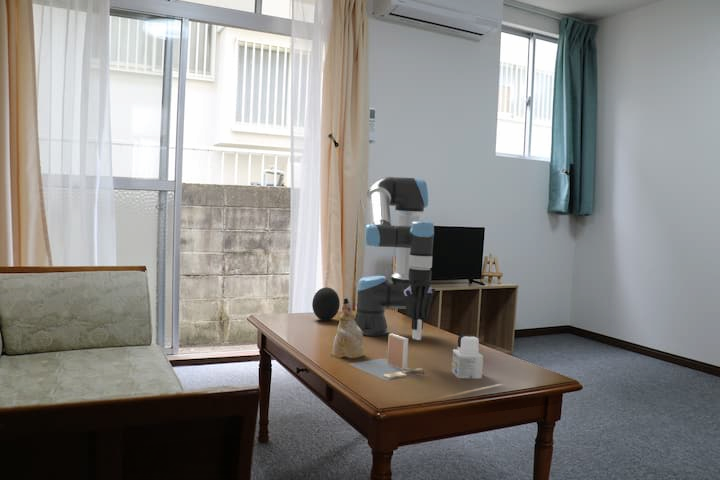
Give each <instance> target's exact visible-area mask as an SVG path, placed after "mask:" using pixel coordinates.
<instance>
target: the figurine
mask: <svg viewBox="0 0 720 480" xmlns="http://www.w3.org/2000/svg"><path fill="white" fill-rule="evenodd" d="M341 310H342V313H343V314H341V315H340V316H339V323H338V325H337V329H336V330H337V331H336V335H335V337H334V338H333V343H332V344H333V345H332V353H331V355H330V356H331V357H336V358H339V359H353V358H362V357H365V354H364V350H363V349H364V347H363V342H364V335H363V333H362V331H361V329H360V328H359V327H358V325H357V324H356V322H355V320H354V319H355V316H356V314H354V313H353V312H352V311H353V307H352V304H351V303H350V301H349V298H346V297H345V298H344V299H343V303H342V305H341Z"/></svg>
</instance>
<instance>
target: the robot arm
mask: <svg viewBox="0 0 720 480" xmlns="http://www.w3.org/2000/svg"><path fill="white" fill-rule="evenodd" d="M428 190H429V189H428V185H427V181H426V180H425V179H423V178H416V177H398V176H396V177H394V176H393V177H392V176H386V177H382V178H381V179H380V178H379V179H378V180H376V181H375V182H373V184H372V185H371V186H370V187H369V188H368V190H367V193H366V202H367V204H368V205H369V222H370V223H368V224H366V225H365V230H364V233H365V234H364V235H365V236H364V242H365V243H364V244H365V245H366V246H369V247H375V248H377V247H378V248H379V247H380V248H381V247H382V248H396V257H395V270H394V271H395V272H394V273H392V274H391V276H390V277H391V279H387V277H386V276H384V275H373V276H372V275H371V276H363V277H361V278H360V279H359V280H358V283H357V289H356V291H357V296H356V297H357V299H356V314H355V318H354V320H355V322H356V324H357V325H358V327H359V328H360V329H361V331H362V333H363V336H367V337H369V336H371V337H375V336H376V337H378V336H384V335H387V334H389V333H388V331H389V330H388V329H389V326H388V324H387V319H386V316H385V309H404V310H405V312H406V317H407V318H409V319H411V330H412V335H411V338H412V339H413V340H417V341H421V340H422V330H423V328H424V321H425V320H426V319H427V318H428V317H429V314H430V310H431V306H432V301H433V297H434V294H435V292H436V289H435V288H433V287H431V283H430V282H431V280H432V269H431V268H433V247H434V236H435V226H434V225H435V224H434V223H433V222H432V221H430V222H429V221H420V217H421V215H422V214H423V213H424V210H425V208H428V206H429V191H428ZM390 206H392V207H394V208H395V210H394V211H395V212H396V213H397V215H398V220H397V222H398V223H397V225H392V219H391V209H390Z"/></svg>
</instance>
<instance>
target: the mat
mask: <svg viewBox="0 0 720 480" xmlns="http://www.w3.org/2000/svg"><path fill="white" fill-rule="evenodd" d="M348 365H349V366H351V367H354V368H356V369H359V370H361V371H363V372H365V373H367V374H370V375H372V376H374V377H377V378H379V379H381V380H383V381H392V380H398V379H403V378H408V377H409V378H410V377H414V376H418V375H424V372H421V373H416V374H410V375H407V376H405V377H399V378H394V379H387V378H385V377H383V375H384V374H390V373H396V372H401V371H405V370H401V369H399V368H396V367H394V366H391V365H389V364H387V358H384V357H383V358H376V359H370V360H364V361H355V362H351V363H348ZM411 369H412V368H409V367H407V370H411Z"/></svg>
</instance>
